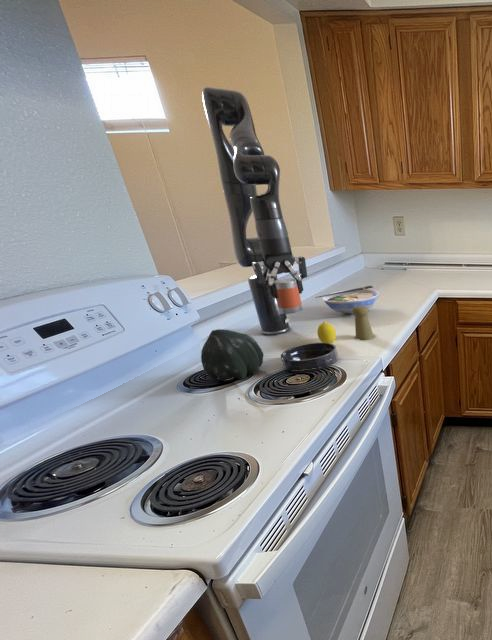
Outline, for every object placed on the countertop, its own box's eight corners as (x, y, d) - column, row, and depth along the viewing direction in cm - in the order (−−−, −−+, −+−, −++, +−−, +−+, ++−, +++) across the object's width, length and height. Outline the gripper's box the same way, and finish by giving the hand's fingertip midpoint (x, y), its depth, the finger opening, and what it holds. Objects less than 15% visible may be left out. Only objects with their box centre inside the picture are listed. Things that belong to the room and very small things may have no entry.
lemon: (321, 349, 135) (316, 325, 132) (319, 344, 140) (314, 321, 137) (339, 346, 138) (334, 322, 134) (336, 341, 142) (332, 318, 139)
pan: (276, 364, 124) (272, 352, 122) (325, 351, 134) (322, 339, 132) (296, 378, 114) (292, 365, 113) (347, 362, 124) (344, 350, 122)
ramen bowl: (335, 324, 161) (331, 303, 158) (315, 313, 177) (310, 294, 173) (393, 311, 176) (391, 292, 172) (369, 302, 192) (367, 284, 188)
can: (275, 311, 124) (268, 281, 120) (297, 306, 128) (291, 277, 124) (284, 315, 120) (276, 284, 116) (306, 310, 124) (299, 280, 120)
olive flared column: (368, 340, 142) (363, 309, 137) (352, 339, 143) (346, 308, 139) (376, 334, 147) (371, 304, 143) (361, 334, 148) (355, 303, 144)
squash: (272, 343, 125) (222, 312, 116) (273, 361, 113) (218, 328, 104) (241, 378, 125) (189, 350, 116) (239, 400, 113) (180, 371, 104)
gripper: (294, 233, 122) (306, 289, 129) (240, 237, 113) (256, 298, 120) (304, 234, 117) (316, 292, 124) (249, 239, 108) (266, 302, 115)
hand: (287, 295), depth 122 cm, fingers closed on can, 6 cm apart
